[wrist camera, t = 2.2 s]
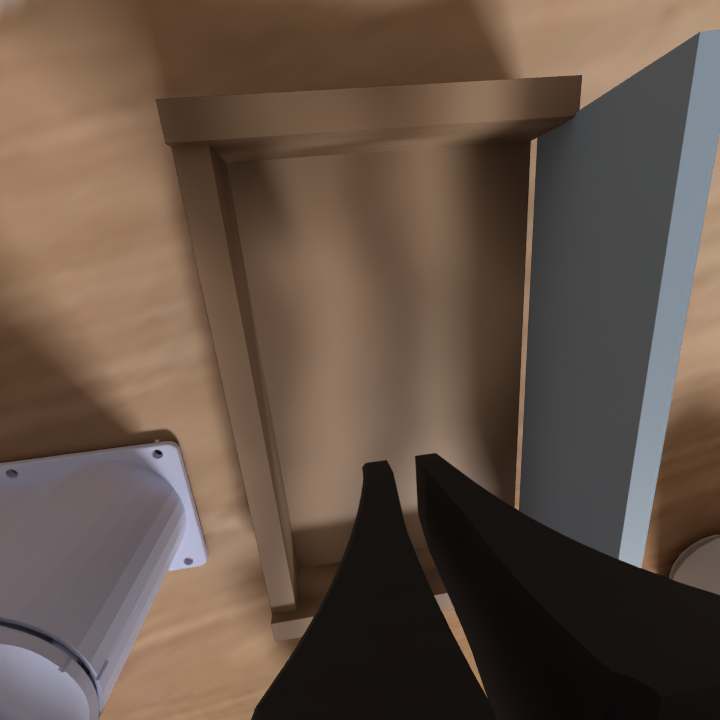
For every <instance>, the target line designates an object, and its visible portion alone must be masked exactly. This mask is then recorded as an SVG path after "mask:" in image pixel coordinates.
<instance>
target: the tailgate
mask: <svg viewBox="0 0 720 720" xmlns="http://www.w3.org/2000/svg"><path fill="white" fill-rule="evenodd" d="M719 133H720V30H712V31H704V32H699V33H698V34H696V35H695V36H693V37H692V38H690V39H688V40H687V41H685V42H684V43H682V44H681V45H679V46H678V47H676V48H675V49H673V50H672V51H670V52H668V53H667V54H665V55H664V56H662V57H661V58H659V59H658V60H656V61H655V62H653V63H652V64H650V65H648V66H647V67H645V68H644V69H642V70H641V71H639V72H638V73H636V74H635V75H633V76H632V77H630V78H628V79H627V80H625V81H624V82H622V83H621V84H619V85H618V86H616V87H615V88H613V89H612V90H610V91H608V92H607V93H605V94H604V95H602V96H601V97H599V98H598V99H596V100H595V101H593V102H592V103H590V104H588V105H587V106H585V107H584V108H582V109H581V110H579V111H578V112H576V116H575V117H573V118H572V119H570V120H569V121H567V122H565V123H564V124H562V125H560V126H558V127H556V128H554V129H552V130H551V131H549V132H547V133H545V134H543V135H541V136H539V137H538V138H537V158H536V178H535V198H534V219H533V239H532V259H531V279H530V300H529V320H528V340H527V360H526V381H525V401H524V421H523V441H522V462H521V482H520V502H519V511H520V512H522V513H523V514H525V515H527V516H529V517H530V518H532V519H534V520H536V521H538V522H540V523H542V524H543V525H545V526H547V527H549V528H551V529H553V530H555V531H557V532H559V533H561V534H563V535H565V536H567V537H569V538H571V539H573V540H575V541H577V542H579V543H582V544H584V545H586V546H588V547H591V548H593V549H595V550H598V551H600V552H602V553H604V554H607V555H609V556H611V557H614V558H616V559H619V560H621V561H624V562H626V563H629V564H631V565H634V566H636V567H639V568H641V567H642V561H643V556H644V550H645V545H646V539H647V534H648V528H649V522H650V517H651V511H652V506H653V500H654V495H655V489H656V484H657V478H658V472H659V467H660V461H661V456H662V450H663V445H664V439H665V434H666V428H667V422H668V417H669V411H670V406H671V400H672V395H673V389H674V384H675V378H676V372H677V367H678V361H679V356H680V350H681V345H682V339H683V334H684V328H685V322H686V317H687V311H688V306H689V300H690V295H691V289H692V284H693V278H694V272H695V267H696V261H697V256H698V250H699V245H700V239H701V234H702V228H703V222H704V217H705V211H706V206H707V200H708V195H709V189H710V183H711V178H712V172H713V167H714V161H715V156H716V150H717V145H718V139H719Z"/></svg>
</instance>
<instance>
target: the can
mask: <svg viewBox="0 0 720 720" xmlns="http://www.w3.org/2000/svg"><path fill="white" fill-rule="evenodd" d="M669 579H672V580H674V581H677V582H680V583H683V584H686V585H689V586H693V587H696V588H699V589H702V590H705V591H709V592H712V593H715V594H718V595H720V535H712V536H709V537H706V538H702V539H701V540H699V541H697V542H695V543H693V544H692V545H690V546H689V547H688V548H687V549H686V550H684V551H683V552H682V553H681V554H680V555H679V557H678V558H677V559H676V561H675V562H674V563H673V566H672V568H671V571H670V573H669Z"/></svg>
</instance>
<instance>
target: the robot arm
mask: <svg viewBox="0 0 720 720" xmlns="http://www.w3.org/2000/svg"><path fill="white" fill-rule="evenodd" d="M155 450H160V451H161V452H162V453H163V454H162V455H159V454H157V453H156V452H155ZM415 465H416V485H417V504H418V516H419V520H420V523H421V527H422V530H423V533H424V537H425V540H426V543H427V546H428V549H429V552H430V554H431V556H432V559H433V561H434V563H435V566H436V568H437V570H438V573H439V575H440V577H441V580H442V582H443V584H444V586H445V589H446V591H447V593H448V596H449V598H450V600H451V602H452V605H453V607H454V609H455V612H456V614H457V616H458V618H459V621H460V623H461V625H462V628H463V630H464V633H465V635H466V638H467V640H468V643H469V645H470V648H471V650H472V653H473V656H474V659H475V662H476V665H477V668H478V671H479V674H480V677H481V680H482V683H483V686H484V689H485V692H486V695H487V697H486V695H485V693H484V691H483V690H482V688H481V686H480V684H479V682H478V681H477V679H476V677H475V675H474V673H473V672H472V670H471V668H470V666H469V664H468V662H467V660H466V658H465V656H464V654H463V653H462V651H461V649H460V647H459V645H458V643H457V641H456V639H455V637H454V636H453V634H452V632H451V630H450V628H449V626H448V624H447V621H446V619H445V617H444V615H443V613H442V611H441V609H440V607H439V605H438V603H437V600H436V598H435V596H434V594H433V592H432V590H431V588H430V585H429V583H428V581H427V578H426V576H425V574H424V571H423V569H422V567H421V565H420V562H419V560H418V557H417V555H416V552H415V550H414V547H413V545H412V542H411V540H410V537H409V535H408V532H407V529H406V525H405V522H404V518H403V513H402V509H401V504H400V500H399V495H398V491H397V486H396V482H395V478H394V473H393V471H392V469H391V467H390V465H389V463H388V461H387V460H383V461H376V462H369V463H365V464H364V465H363V467H362V471H363V485H362V493H361V498H360V502H359V507H358V512H357V516H356V519H355V522H354V526H353V529H352V532H351V536H350V539H349V542H348V544H347V547H346V550H345V553H344V555H343V558H342V560H341V562H340V565H339V567H338V570H337V572H336V574H335V576H334V578H333V580H332V583H331V585H330V587H329V589H328V591H327V593H326V595H325V597H324V599H323V601H322V603H321V605H320V607H319V609H318V611H317V612H316V614H315V616H314V617H313V619H312V621H311V623H310V624H309V626H308V628H307V630H306V631H305V633H304V635H303V636H302V638H301V640H300V642H299V643H298V645H297V647H296V648H295V650H294V652H293V653H292V655H291V656H290V658H289V659H288V661H287V662H286V664H285V665H284V667H283V668H282V670H281V671H280V673H279V674H278V675H277V677H276V678H275V680H274V681H273V683H272V684H271V686H270V687H269V689H268V690H267V692H266V693H265V695H264V696H263V697H262V699H261V700H260V702H259V703H258V705H257V706H256V708H255V710H254V713H253V716H252V719H251V720H720V595H718V594H715V593H712V592H709V591H705V590H702V589H699V588H696V587H693V586H689V585H686V584H683V583H680V582H677V581H674V580H672V579H669V578H666V577H664V576H661V575H658V574H655V573H653V572H650V571H647V570H644V569H642V568H639V567H636V566H634V565H631V564H629V563H626V562H624V561H621V560H619V559H616V558H614V557H611V556H609V555H607V554H604V553H602V552H600V551H598V550H595V549H593V548H591V547H588V546H586V545H584V544H582V543H579V542H577V541H575V540H573V539H571V538H569V537H567V536H565V535H563V534H561V533H559V532H557V531H555V530H553V529H551V528H549V527H547V526H545V525H543V524H542V523H540V522H538V521H536V520H534V519H532V518H530V517H529V516H527V515H525V514H523V513H522V512H520V511H518V510H517V509H515V508H514V507H512V506H510V505H509V504H507V503H506V502H504V501H502V500H501V499H499V498H498V497H496V496H495V495H493V494H492V493H490V492H489V491H487V490H486V489H484V488H483V487H481V486H480V485H478V484H477V483H476V482H474V481H473V480H471V479H470V478H469V477H467V476H466V475H465V474H463V473H462V472H461V471H459V470H458V469H457V468H455V467H454V466H453V465H451V464H450V463H449V462H447V461H446V460H445V459H443V458H442V457H441V456H439V455H438V454H437V453H432V454H425V455H418V456H415ZM12 469H13V470H15V471H16V472H17V473H18V474H17V473H15V472H14V471H13V470H12ZM188 558H191V559H188ZM207 558H208V551H207V548H206V544H205V540H204V537H203V533H202V529H201V525H200V522H199V518H198V514H197V510H196V507H195V503H194V499H193V496H192V492H191V488H190V484H189V481H188V477H187V473H186V469H185V466H184V462H183V458H182V455H181V451H180V448H179V446H178V444H176V443H175V442H172V441H164V442H156V443H149V444H141V445H134V446H126V447H119V448H111V449H103V450H96V451H88V452H81V453H73V454H66V455H58V456H51V457H43V458H35V459H28V460H20V461H13V462H5V463H0V720H99V717H100V715H101V713H102V711H103V709H104V707H105V705H106V702H107V700H108V698H109V696H110V694H111V692H112V690H113V687H114V685H115V683H116V681H117V679H118V677H119V675H120V672H121V670H122V668H123V666H124V664H125V662H126V660H127V657H128V655H129V653H130V651H131V649H132V647H133V645H134V642H135V640H136V638H137V636H138V634H139V632H140V630H141V627H142V625H143V623H144V621H145V619H146V617H147V615H148V612H149V610H150V608H151V606H152V604H153V602H154V600H155V597H156V595H157V593H158V591H159V589H160V587H161V585H162V582H163V580H164V578H165V576H166V574H167V572H168V571H172V570H178V569H184V568H191V567H197V566H201V565H203V564H205V563H206V561H207Z"/></svg>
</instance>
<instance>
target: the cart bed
mask: <svg viewBox="0 0 720 720" xmlns="http://www.w3.org/2000/svg"><path fill="white" fill-rule="evenodd" d="M581 83H582V75H576V76H559V77H541V78H523V79H505V80H488V81H470V82H452V83H435V84H417V85H399V86H382V87H364V88H346V89H329V90H311V91H293V92H275V93H258V94H240V95H222V96H205V97H187V98H169V99H156V102H157V107H158V111H159V116H160V121H161V125H162V130H163V134H164V139H165V143H166V144H167V145H169V146H170V147H171V148H172V152H173V157H174V161H175V166H176V171H177V175H178V180H179V185H180V189H181V194H182V198H183V203H184V208H185V212H186V217H187V222H188V226H189V231H190V236H191V240H192V245H193V249H194V254H195V259H196V263H197V268H198V273H199V277H200V282H201V287H202V291H203V296H204V300H205V305H206V310H207V314H208V319H209V324H210V328H211V333H212V337H213V342H214V347H215V351H216V356H217V361H218V365H219V370H220V375H221V379H222V384H223V388H224V393H225V398H226V402H227V407H228V412H229V416H230V421H231V425H232V430H233V435H234V439H235V444H236V449H237V453H238V458H239V463H240V467H241V472H242V476H243V481H244V486H245V490H246V495H247V500H248V504H249V509H250V514H251V518H252V523H253V527H254V532H255V537H256V541H257V546H258V551H259V555H260V560H261V564H262V569H263V574H264V578H265V583H266V588H267V592H268V597H269V602H270V606H271V611H272V621H271V626H272V631H273V635H274V640H275V642H277V641H283V640H288V639H294V638H299V637H302V636H303V635H304V633H305V631H306V630H307V628H308V626H309V624H310V623H311V621H312V619H313V617H314V616H315V614H316V612H317V611H318V609H319V607H320V605H321V603H322V601H323V599H324V597H325V595H326V593H327V591H328V589H329V587H330V585H331V583H332V580H333V578H334V576H335V574H336V572H337V570H338V567H339V565H340V562H341V560H342V558H343V555H344V553H345V550H346V547H347V544H348V542H349V539H350V536H351V532H352V529H353V526H354V522H355V519H356V516H357V512H358V507H359V502H360V498H361V493H362V485H363V471H362V467H363V465H364V464H365V463H369V462H376V461H383V460H387V461H388V463H389V465H390V467H391V469H392V471H393V473H394V478H395V482H396V486H397V491H398V495H399V500H400V504H401V509H402V513H403V518H404V522H405V525H406V529H407V532H408V535H409V537H410V540H411V542H412V545H413V547H414V550H415V552H416V555H417V557H418V560H419V562H420V565H421V567H422V569H423V571H424V574H425V576H426V578H427V581H428V583H429V585H430V588H431V590H432V592H433V594H434V596H435V598H436V600H437V603H438V605H439V607H440V609H441V611H442V612H443V611H449V610H454V607H453V605H452V602H451V600H450V598H449V596H448V593H447V591H446V589H445V586H444V584H443V582H442V580H441V577H440V575H439V573H438V570H437V568H436V566H435V563H434V561H433V559H432V556H431V554H430V552H429V549H428V546H427V543H426V540H425V537H424V533H423V530H422V527H421V523H420V520H419V516H418V504H417V485H416V465H415V456H418V455H425V454H432V453H437V454H438V455H439V456H441V457H442V458H443V459H445V460H446V461H447V462H449V463H450V464H451V465H453V466H454V467H455V468H457V469H458V470H459V471H461V472H462V473H463V474H465V475H466V476H467V477H469V478H470V479H471V480H473V481H474V482H476V483H477V484H478V485H480V486H481V487H483V488H484V489H486V490H487V491H489V492H490V493H492V494H493V495H495V496H496V497H498V498H499V499H501V500H502V501H504V502H506V503H507V504H509V505H510V506H512V507H514V505H515V482H516V460H517V437H518V415H519V393H520V370H521V348H522V325H523V303H524V280H525V258H526V236H527V213H528V191H529V168H530V146H531V140H533V139H535V138H537V137H539V136H541V135H543V134H545V133H547V132H549V131H551V130H552V129H554V128H556V127H558V126H560V125H562V124H564V123H565V122H567V121H569V120H570V119H572V118H573V117H575V116H576V112H578V111H579V109H580V96H581Z"/></svg>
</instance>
